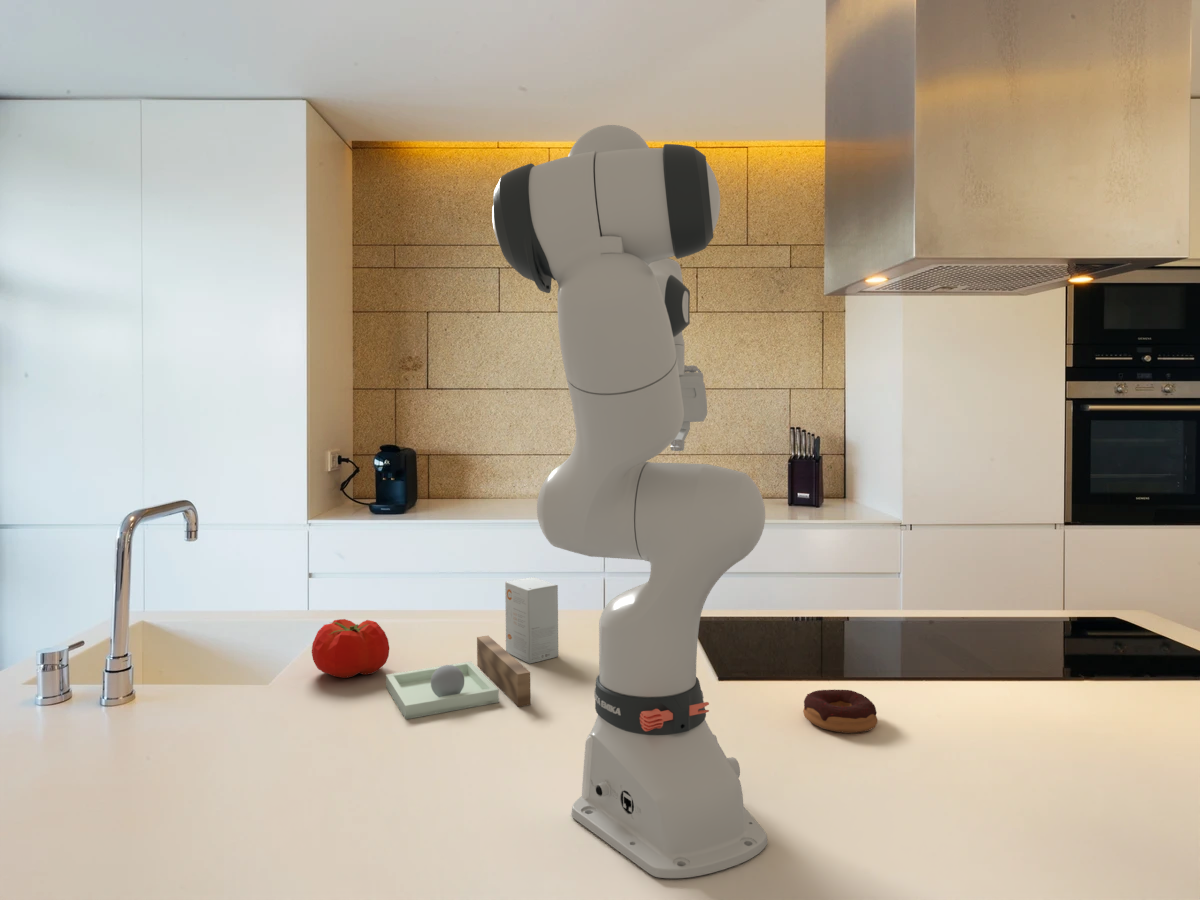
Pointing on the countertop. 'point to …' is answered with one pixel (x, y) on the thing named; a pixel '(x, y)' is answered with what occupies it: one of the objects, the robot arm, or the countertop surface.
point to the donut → (840, 711)
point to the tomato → (350, 648)
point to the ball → (447, 681)
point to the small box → (531, 619)
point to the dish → (421, 700)
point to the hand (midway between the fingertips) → (656, 452)
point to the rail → (504, 670)
